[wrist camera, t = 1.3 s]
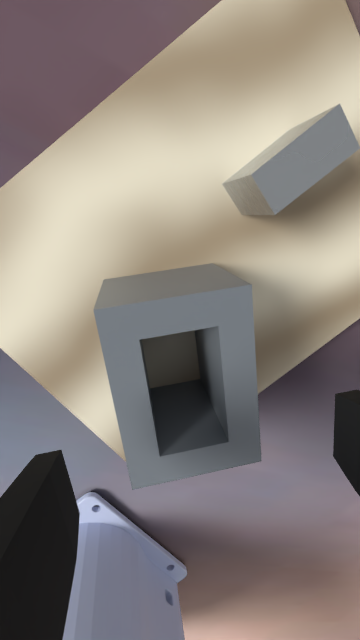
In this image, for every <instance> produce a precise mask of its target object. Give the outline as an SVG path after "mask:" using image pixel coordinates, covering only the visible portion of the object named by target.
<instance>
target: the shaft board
mask: <svg viewBox="0 0 360 640" xmlns="http://www.w3.org/2000/svg"><path fill="white" fill-rule="evenodd" d="M338 104H340V105H341V107H342V109H343V111H344V113H345V116H346V118H347V120H348V122H349V124H350V126H351V129H352V131H353V133H354V135H355V137H356V140H357V142H358V144H359V146H360V35H359V33H358V31H357V28H356V26H355V23H354V21H353V18H352V16H351V13H350V11H349V9H348V6H347V4H346V1H345V0H222V1H220V2H219V3H218V4H217V5H216V6H215V7H213V8H212V9H211V10H210V11H209V12H208V13H206V14H205V15H204V16H203V17H202V18H200V19H199V20H198V21H197V22H196V23H195V24H193V25H192V26H191V27H190V28H189V29H187V30H186V31H185V32H184V33H183V34H182V35H180V36H179V37H178V38H177V39H176V40H175V41H173V42H172V43H171V44H170V45H169V46H167V47H166V48H165V49H164V50H163V51H162V52H160V53H159V54H158V55H157V56H156V57H154V58H153V59H152V60H151V61H150V62H149V63H147V64H146V65H145V66H144V67H143V68H142V69H140V70H139V71H138V72H137V73H136V74H134V75H133V76H132V77H131V78H130V79H129V80H127V81H126V82H125V83H124V84H123V85H121V86H120V87H119V88H118V89H117V90H116V91H114V92H113V93H112V94H111V95H110V96H109V97H107V98H106V99H105V100H104V101H103V102H101V103H100V104H99V105H98V106H97V107H96V108H94V109H93V110H92V111H91V112H90V113H89V114H87V115H86V116H85V117H84V118H83V119H81V120H80V121H79V122H78V123H77V124H76V125H74V126H73V127H72V128H71V129H70V130H68V131H67V132H66V133H65V134H64V135H63V136H61V137H60V138H59V139H58V140H57V141H56V142H54V143H53V144H52V145H51V146H50V147H48V148H47V149H46V150H45V151H44V152H43V153H41V154H40V155H39V156H38V157H37V158H35V159H34V160H33V161H32V162H31V163H30V164H28V165H27V166H26V167H25V168H24V169H23V170H21V171H20V172H19V173H18V174H17V175H15V176H14V177H13V178H12V179H11V180H10V181H8V182H7V183H6V184H5V185H4V186H2V187H1V188H0V348H1V349H2V350H3V351H4V352H5V353H7V354H8V355H9V356H10V357H11V358H12V359H13V360H14V361H15V362H17V363H18V364H19V365H20V366H21V367H22V368H23V369H24V370H25V371H26V372H28V373H29V374H30V375H31V376H32V377H33V378H34V379H35V380H36V381H37V382H39V383H40V384H41V385H42V386H43V387H44V388H45V389H46V390H47V391H49V392H50V393H51V394H52V395H53V396H54V397H55V398H56V399H57V400H58V401H60V402H61V403H62V404H63V405H64V406H65V407H66V408H67V409H68V410H69V411H71V412H72V413H73V414H74V415H75V416H76V417H77V418H78V419H79V420H81V421H82V422H83V423H84V424H85V425H86V426H87V427H88V428H89V429H90V430H92V431H93V432H94V433H95V434H96V435H97V436H98V437H99V438H100V439H102V440H103V441H104V442H105V443H106V444H107V445H108V446H109V447H110V448H111V449H113V450H114V451H115V452H116V453H117V454H118V455H119V456H120V457H121V458H122V459H124V460H125V461H126V458H125V454H124V449H123V444H122V440H121V435H120V431H119V426H118V421H117V417H116V412H115V408H114V403H113V398H112V394H111V389H110V385H109V380H108V375H107V371H106V366H105V362H104V357H103V352H102V348H101V343H100V339H99V334H98V329H97V325H96V320H95V316H94V311H93V309H94V306H95V303H96V300H97V298H98V295H99V292H100V289H101V286H102V283H103V280H104V279H110V278H117V277H123V276H130V275H137V274H143V273H150V272H157V271H163V270H170V269H177V268H183V267H190V266H196V265H203V264H210V263H213V264H215V265H217V266H219V267H221V268H223V269H224V270H226V271H228V272H230V273H232V274H233V275H235V276H237V277H239V278H241V279H242V280H244V281H246V282H248V283H250V284H252V298H253V317H254V335H255V354H256V372H257V390H258V394H259V393H260V392H261V391H263V390H264V389H265V388H267V387H268V386H269V385H271V384H272V383H273V382H275V381H276V380H277V379H279V378H280V377H281V376H283V375H284V374H286V373H287V372H288V371H290V370H291V369H292V368H294V367H295V366H296V365H298V364H299V363H300V362H302V361H303V360H304V359H306V358H307V357H308V356H310V355H311V354H312V353H314V352H315V351H316V350H318V349H319V348H320V347H322V346H323V345H324V344H326V343H327V342H328V341H330V340H331V339H333V338H334V337H335V336H337V335H338V334H339V333H341V332H342V331H343V330H345V329H346V328H347V327H349V326H350V325H351V324H353V323H354V322H355V321H357V320H358V319H359V318H360V149H358V150H357V151H356V152H355V153H353V154H352V155H351V156H350V157H348V158H347V159H346V160H344V161H343V162H342V163H341V164H339V165H338V166H337V167H336V168H334V169H333V170H332V171H330V172H329V173H328V174H327V175H325V176H324V177H323V178H322V179H320V180H319V181H318V182H316V183H315V184H314V185H313V186H311V187H310V188H309V189H308V190H306V191H305V192H304V193H302V194H301V195H300V196H299V197H297V198H296V199H295V200H294V201H292V202H291V203H290V204H288V205H287V206H286V207H285V208H283V209H282V210H281V211H280V212H278V213H277V214H276V215H241V213H240V212H239V210H238V208H237V207H236V205H235V204H234V202H233V201H232V199H231V197H230V196H229V194H228V193H227V191H226V190H225V188H224V186H223V185H222V183H224V182H225V181H226V180H227V179H229V178H230V177H231V176H232V175H234V174H235V173H236V172H237V171H239V170H240V169H241V168H242V167H244V166H245V165H246V164H247V163H249V162H250V161H251V160H252V159H254V158H255V157H256V156H257V155H259V154H260V153H261V152H262V151H263V150H265V149H266V148H267V147H268V146H270V145H271V144H272V143H273V142H275V141H276V140H277V139H278V138H280V137H281V136H282V135H283V134H285V133H286V132H287V131H288V130H290V129H292V128H294V127H296V126H297V125H299V124H301V123H303V122H305V121H307V120H309V119H311V118H313V117H315V116H317V115H319V114H320V113H322V112H324V111H326V110H328V109H330V108H332V107H334V106H336V105H338ZM142 344H143V350H144V356H145V362H146V368H147V373H148V379H149V385H150V388H155V387H160V386H165V385H171V384H176V383H181V382H187V381H192V380H197V379H200V372H199V364H198V355H197V347H196V338H195V330H193V331H187V332H181V333H176V334H170V335H164V336H158V337H152V338H147V339H142Z"/></svg>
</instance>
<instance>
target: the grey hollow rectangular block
mask: <svg viewBox="0 0 360 640" xmlns="http://www.w3.org/2000/svg"><path fill="white" fill-rule="evenodd" d="M93 311H94V316H95V320H96V325H97V329H98V334H99V339H100V343H101V348H102V352H103V357H104V362H105V366H106V371H107V375H108V380H109V385H110V389H111V394H112V398H113V403H114V408H115V412H116V417H117V421H118V426H119V431H120V435H121V440H122V444H123V449H124V454H125V458H126V463H127V467H128V472H129V477H130V481H131V486H132V490H134V489H138V488H143V487H147V486H152V485H156V484H161V483H165V482H170V481H174V480H179V479H183V478H188V477H192V476H197V475H201V474H206V473H210V472H215V471H219V470H224V469H228V468H233V467H237V466H242V465H246V464H251V463H255V462H260V461H261V446H260V427H259V409H258V390H257V372H256V354H255V335H254V317H253V298H252V284H250V283H248V282H246V281H244V280H242V279H241V278H239V277H237V276H235V275H233V274H232V273H230V272H228V271H226V270H224V269H223V268H221V267H219V266H217V265H215V264H213V263H210V264H203V265H196V266H190V267H183V268H177V269H170V270H163V271H157V272H150V273H143V274H137V275H130V276H123V277H117V278H110V279H104V280H103V283H102V286H101V289H100V292H99V295H98V298H97V300H96V303H95V306H94V309H93ZM193 330H195V338H196V347H197V355H198V364H199V372H200V379H197V380H192V381H187V382H181V383H176V384H171V385H165V386H160V387H155V388H150V385H149V379H148V373H147V368H146V362H145V356H144V350H143V344H142V339H147V338H152V337H158V336H164V335H170V334H176V333H181V332H187V331H193Z"/></svg>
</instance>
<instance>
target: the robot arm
mask: <svg viewBox="0 0 360 640" xmlns="http://www.w3.org/2000/svg"><path fill="white" fill-rule="evenodd" d="M333 456H334V458H335V460H336V461H337V463H338V464H339V466H340V468H341V469H342V471H343V472H344V474H345V476H346V477H347V479H348V480H349V482H350V483H351V485H352V486H353V488H354V489H355V491H356V492H357V493H358V495H359V496H360V391H359V390H353V391H348V392H343V393H338V394H335V421H334V451H333ZM95 505H99V506H98V507H95ZM186 575H187V569H186V566H185V565H184V564H182V563H181V562H180V561H179V560H178V559H176V558H175V557H174V556H173V555H171V554H170V553H169V552H168V551H167V550H165V549H164V548H163V547H162V546H160V545H159V544H158V543H157V542H156V541H154V540H153V539H152V538H151V537H150V536H148V535H147V534H146V533H145V532H143V531H142V530H141V529H140V528H139V527H137V526H136V525H135V524H134V523H132V522H131V521H130V520H129V519H128V518H126V517H125V516H124V515H123V514H121V513H120V512H119V511H118V510H117V509H115V508H114V507H113V506H112V505H110V504H109V503H108V502H107V501H106V500H104V499H103V498H102V497H101V496H100V495H98V494H97V493H95V492H89V493H86V494H85V495H83V496H82V497H81V498H79V499H78V500H77V501H76V499H75V495H74V492H73V488H72V485H71V482H70V478H69V475H68V471H67V468H66V465H65V461H64V458H63V454H62V451H61V450H58V451H53V452H48V453H43V454H38V455H35V456H34V458H33V459H32V460H31V461H30V462H29V463H28V465H27V466H26V467H25V468H24V469H23V471H22V472H21V473H20V474H19V475H18V477H17V478H16V479H15V480H14V482H13V483H12V484H11V485H10V486H9V488H8V489H7V490H6V491H5V493H4V494H3V495H2V496H1V497H0V640H185V638H184V631H183V623H182V616H181V609H180V602H179V595H178V588H177V583H178V582H180V581H181V580H182V579H184V578H185V577H186Z"/></svg>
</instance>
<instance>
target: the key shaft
mask: <svg viewBox="0 0 360 640" xmlns="http://www.w3.org/2000/svg"><path fill="white" fill-rule="evenodd" d="M358 149H360V146H359V144H358V142H357V140H356V137H355V135H354V133H353V131H352V129H351V126H350V124H349V122H348V120H347V118H346V116H345V113H344V111H343V109H342V107H341V105H340V104H338V105H336V106H334V107H332V108H330V109H328V110H326V111H324V112H322V113H320V114H319V115H317V116H315V117H313V118H311V119H309V120H307V121H305V122H303V123H301V124H299V125H297V126H296V127H294V128H292V129H290V130H288V131H287V132H286V133H285V134H283V135H282V136H281V137H280V138H278V139H277V140H276V141H275V142H273V143H272V144H271V145H270V146H268V147H267V148H266V149H265V150H263V151H262V152H261V153H260V154H259V155H257V156H256V157H255V158H254V159H252V160H251V161H250V162H249V163H247V164H246V165H245V166H244V167H242V168H241V169H240V170H239V171H237V172H236V173H235V174H234V175H232V176H231V177H230V178H229V179H227V180H226V181H225V182H224V183H222V185H223V186H224V188H225V190H226V191H227V193H228V194H229V196H230V197H231V199H232V201H233V202H234V204H235V205H236V207H237V208H238V210H239V212H240V213H241V215H276V214H277V213H278V212H280V211H281V210H282V209H283V208H285V207H286V206H287V205H288V204H290V203H291V202H292V201H294V200H295V199H296V198H297V197H299V196H300V195H301V194H302V193H304V192H305V191H306V190H308V189H309V188H310V187H311V186H313V185H314V184H315V183H316V182H318V181H319V180H320V179H322V178H323V177H324V176H325V175H327V174H328V173H329V172H330V171H332V170H333V169H334V168H336V167H337V166H338V165H339V164H341V163H342V162H343V161H344V160H346V159H347V158H348V157H350V156H351V155H352V154H353V153H355V152H356V151H357V150H358Z"/></svg>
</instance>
